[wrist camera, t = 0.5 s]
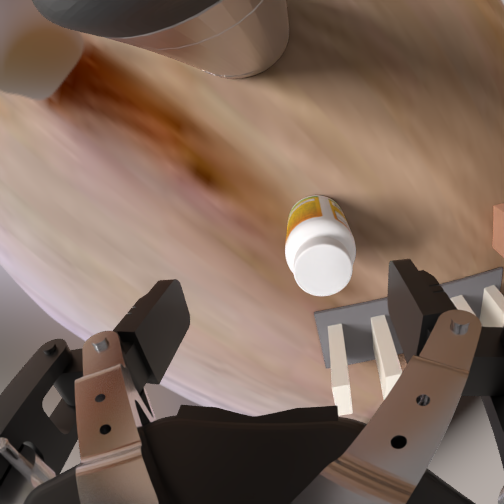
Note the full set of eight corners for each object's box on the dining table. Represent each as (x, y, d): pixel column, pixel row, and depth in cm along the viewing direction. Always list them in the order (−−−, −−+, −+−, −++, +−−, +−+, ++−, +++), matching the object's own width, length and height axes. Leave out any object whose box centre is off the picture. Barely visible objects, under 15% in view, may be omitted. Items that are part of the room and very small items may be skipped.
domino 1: (333, 356, 35) (337, 415, 27) (327, 326, 33) (331, 387, 25) (346, 354, 34) (352, 413, 26) (341, 323, 33) (349, 384, 25)
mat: (325, 366, 36) (326, 368, 36) (314, 312, 33) (314, 314, 33) (492, 324, 30) (493, 326, 30) (501, 266, 27) (502, 268, 27)
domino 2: (373, 348, 34) (385, 407, 26) (370, 317, 32) (385, 377, 24) (385, 346, 33) (400, 403, 25) (384, 314, 31) (402, 373, 23)
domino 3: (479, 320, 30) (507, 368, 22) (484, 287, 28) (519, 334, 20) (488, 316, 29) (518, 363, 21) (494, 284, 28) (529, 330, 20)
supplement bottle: (283, 241, 30) (275, 297, 21) (294, 188, 27) (291, 226, 19) (336, 252, 30) (348, 311, 21) (350, 201, 27) (373, 244, 18)
